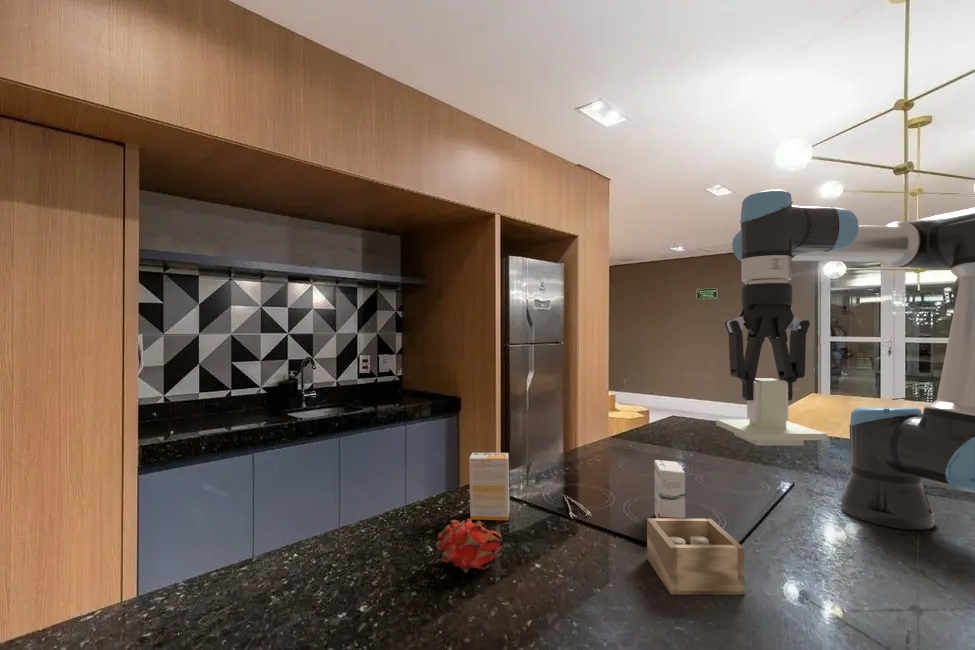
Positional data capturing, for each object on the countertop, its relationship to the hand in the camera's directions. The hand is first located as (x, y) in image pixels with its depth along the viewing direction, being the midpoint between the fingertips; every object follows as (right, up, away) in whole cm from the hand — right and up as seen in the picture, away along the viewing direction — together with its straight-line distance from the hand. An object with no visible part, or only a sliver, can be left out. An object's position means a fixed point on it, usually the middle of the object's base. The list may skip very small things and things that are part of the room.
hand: (767, 419), depth 82 cm
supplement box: (-48, -25, +20) cm, 57 cm away
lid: (0, -4, 0) cm, 4 cm away
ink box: (-11, -25, +16) cm, 31 cm away
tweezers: (-29, -25, +27) cm, 47 cm away
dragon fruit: (-51, -25, -1) cm, 57 cm away
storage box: (-15, -24, -5) cm, 29 cm away
